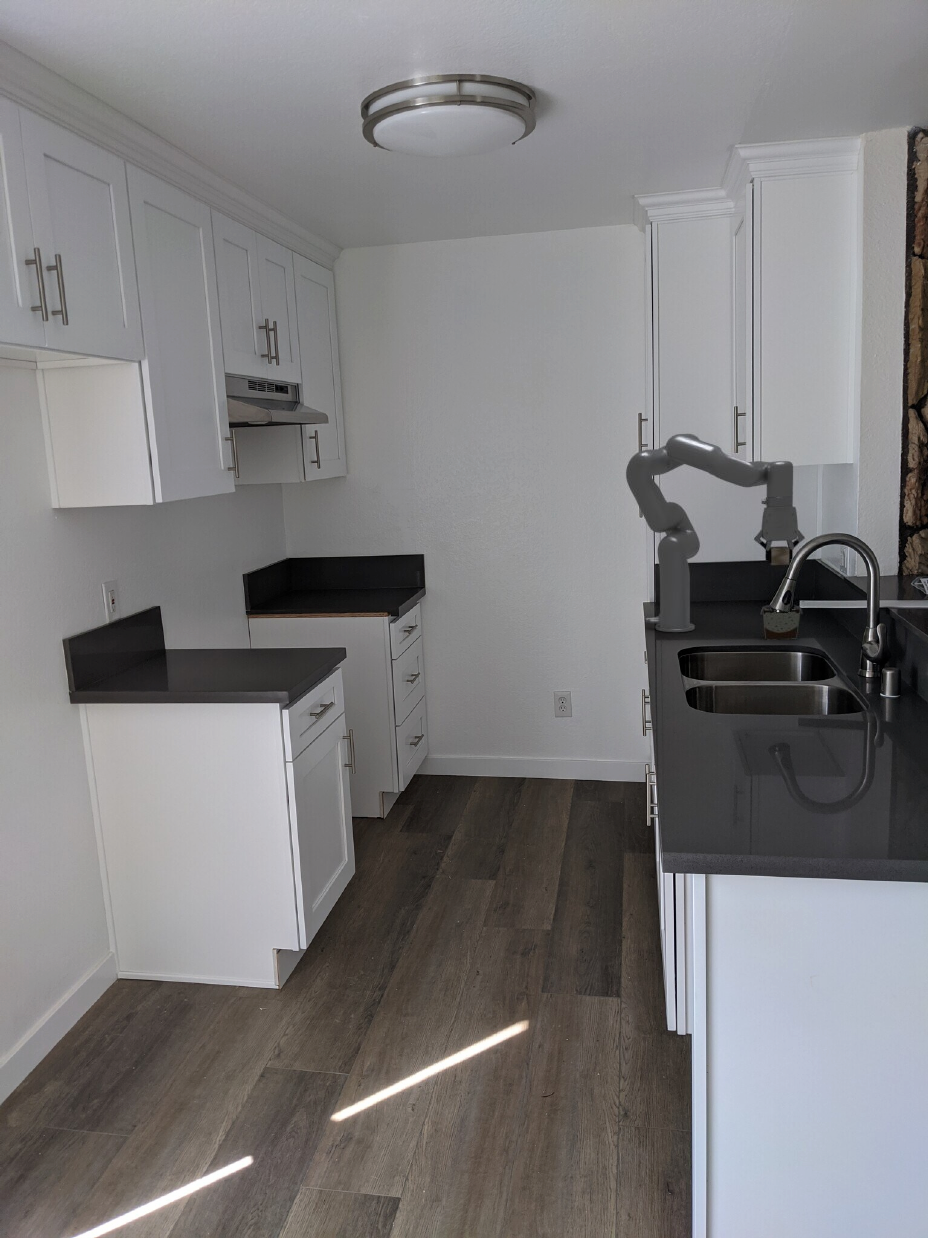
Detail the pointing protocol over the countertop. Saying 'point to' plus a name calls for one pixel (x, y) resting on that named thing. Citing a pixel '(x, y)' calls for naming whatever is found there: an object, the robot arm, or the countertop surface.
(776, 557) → the maple block
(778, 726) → the countertop surface
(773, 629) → the food container
